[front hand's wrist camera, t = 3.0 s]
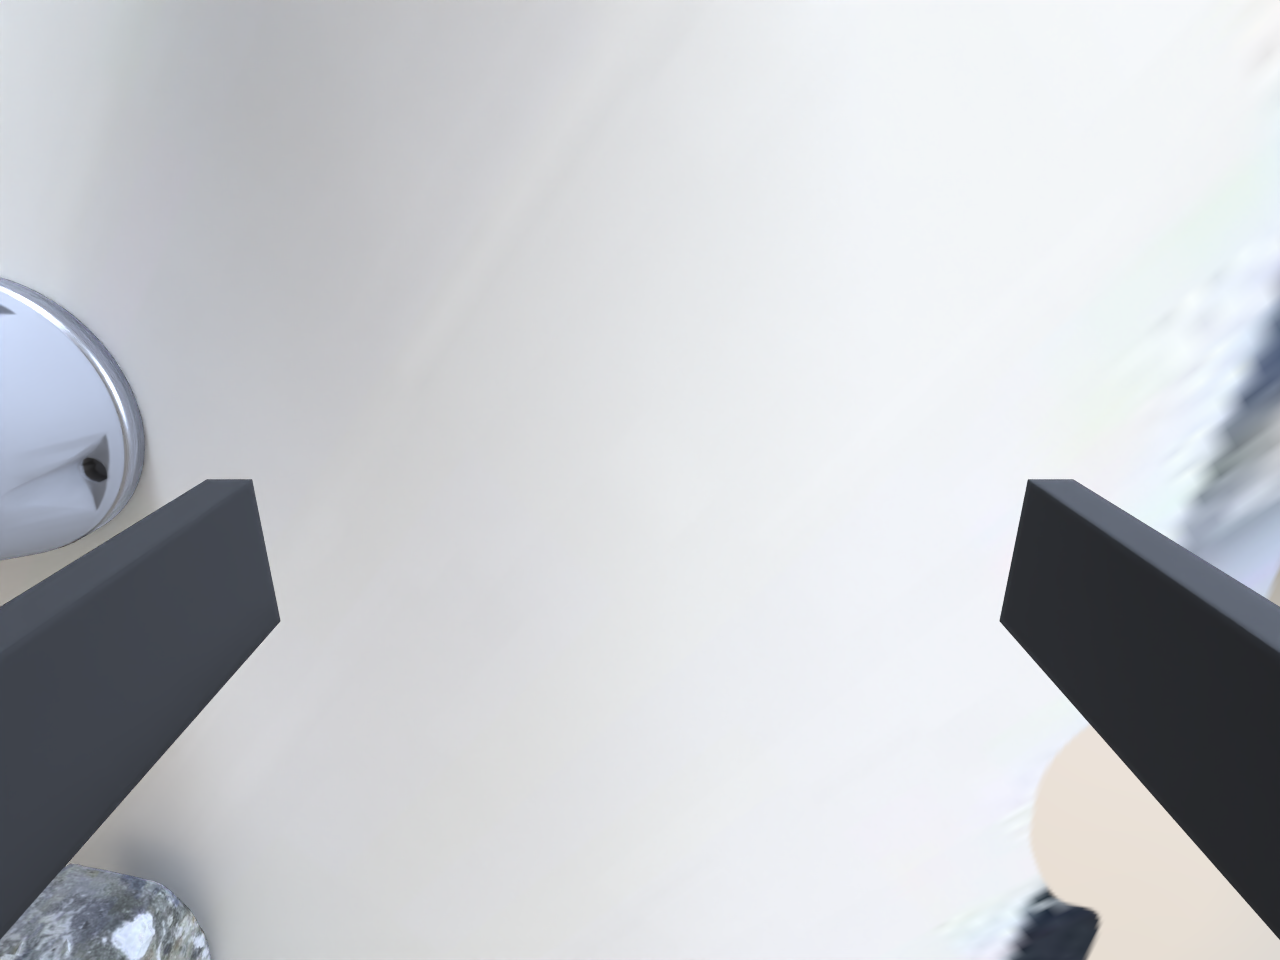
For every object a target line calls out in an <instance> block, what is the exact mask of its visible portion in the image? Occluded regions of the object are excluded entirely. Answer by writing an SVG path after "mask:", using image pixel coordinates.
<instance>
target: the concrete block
mask: <svg viewBox="0 0 1280 960" xmlns="http://www.w3.org/2000/svg"><path fill="white" fill-rule="evenodd" d="M0 960H211V956H210V952H209V947H208V943H207V940H206V937H205V935H204V932H203V931H202V929H201V928H200V926H199V925H198V923H197V920H196V918H195V917H194V915H193V914H192V912H191V911H190V909H189V908H188V907H187V906H186V905H185V904H184V903H183V902H182V901H181V900H180V899H178V898H177V897H176V896H175V895H174V894H173V893H172V892H171V891H170V890H169V889H167V888H166V887H165V886H163V885H162V884H160V883H157V882H155V881H151V880H146V879H142V878H137V877H133V876H129V875H124V874H120V873H115V872H111V871H107V870H101V869H95V868H90V867H84V866H81V865H78V864H69V865H68V866H66V867H64V868H63V869H62V870H61V871H60V872H59V874H58V875H57V876H56V877H55V878H54V879H53V880H52V881H51V883H50V884H49V885H48V886H47V887H46V888H45V889H44V891H43V892H42V893H41V894H40V895H39V896H38V897H37V899H36V900H35V901H34V902H33V903H32V904H31V905H30V906H29V908H28V909H27V910H26V911H25V912H24V913H23V914H22V916H21V917H20V918H19V919H18V920H17V921H16V922H15V924H14V925H13V926H12V927H11V928H10V929H9V930H8V932H7V933H6V934H5V935H4V936H3V937H2V938H1V939H0Z"/></svg>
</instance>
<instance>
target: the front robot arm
mask: <svg viewBox="0 0 1280 960" xmlns="http://www.w3.org/2000/svg"><path fill="white" fill-rule="evenodd" d="M144 450H145V448H144V432H143V424H142V420H141V416H140V411H139V408H138V405H137V402H136V399H135V397H134V394H133V392H132V390H131V388H130V385H129V383H128V381H127V379H126V378H125V376H124V374H123V372H122V370H121V369H120V367H119V366H118V364H117V363H116V361H115V360H114V358H113V357H112V356H111V354H110V353H109V352H108V350H107V349H106V348H105V347H104V345H103V344H102V343H101V342H100V341H99V340H98V339H97V338H96V336H95V335H94V334H93V333H92V332H91V331H90V330H89V329H88V328H87V327H85V326H84V325H83V324H82V323H81V322H80V321H79V320H78V319H76V318H75V317H74V316H73V315H72V314H70V313H69V312H68V311H66V310H65V309H64V308H62V307H61V306H59V305H58V304H56V303H55V302H53V301H52V300H50V299H48V298H47V297H45V296H43V295H41V294H40V293H38V292H36V291H34V290H32V289H30V288H27V287H25V286H23V285H20V284H18V283H15V282H13V281H10V280H7V279H4V278H0V560H5V559H11V558H17V557H22V556H28V555H34V554H39V553H43V552H47V551H50V550H54V549H57V548H61V547H64V546H66V545H69V544H71V543H74V542H75V541H77V540H79V539H81V538H83V537H84V536H86V535H88V534H90V533H91V532H93V531H95V530H96V529H98V528H100V527H102V526H103V525H105V524H106V523H107V522H109V521H110V520H112V519H113V518H114V517H115V516H116V515H117V514H118V513H119V512H120V511H121V510H122V509H123V508H124V506H125V505H126V504H127V503H128V501H129V499H130V498H131V496H132V495H133V493H134V491H135V489H136V486H137V484H138V482H139V478H140V475H141V472H142V467H143V462H144ZM279 622H280V616H279V611H278V607H277V602H276V597H275V592H274V587H273V582H272V577H271V572H270V567H269V562H268V557H267V552H266V547H265V542H264V537H263V532H262V527H261V522H260V517H259V512H258V507H257V502H256V497H255V492H254V487H253V482H252V479H207V480H205V481H203V482H202V483H200V484H199V485H197V486H195V487H194V488H192V489H191V490H189V491H187V492H186V493H184V494H182V495H181V496H179V497H178V498H176V499H174V500H173V501H171V502H169V503H168V504H166V505H165V506H163V507H161V508H160V509H158V510H156V511H155V512H153V513H152V514H150V515H148V516H147V517H145V518H144V519H142V520H140V521H139V522H137V523H135V524H134V525H132V526H131V527H129V528H127V529H126V530H124V531H122V532H121V533H119V534H118V535H116V536H114V537H113V538H111V539H109V540H108V541H106V542H105V543H103V544H101V545H100V546H98V547H97V548H95V549H93V550H92V551H90V552H88V553H87V554H85V555H84V556H82V557H80V558H79V559H77V560H75V561H74V562H72V563H71V564H69V565H67V566H66V567H64V568H62V569H61V570H59V571H58V572H56V573H54V574H53V575H51V576H50V577H48V578H46V579H45V580H43V581H41V582H40V583H38V584H37V585H35V586H33V587H32V588H30V589H28V590H27V591H25V592H24V593H22V594H20V595H19V596H17V597H15V598H14V599H12V600H11V601H9V602H7V603H6V604H4V605H3V606H1V607H0V939H1V938H2V937H3V936H4V935H5V934H6V933H7V932H8V930H9V929H10V928H11V927H12V926H13V925H14V924H15V922H16V921H17V920H18V919H19V918H20V917H21V916H22V914H23V913H24V912H25V911H26V910H27V909H28V908H29V906H30V905H31V904H32V903H33V902H34V901H35V900H36V899H37V897H38V896H39V895H40V894H41V893H42V892H43V891H44V889H45V888H46V887H47V886H48V885H49V884H50V883H51V881H52V880H53V879H54V878H55V877H56V876H57V875H58V874H59V872H60V871H61V870H62V869H63V868H64V867H65V866H66V864H67V863H68V862H69V861H70V860H71V859H72V858H73V856H74V855H75V854H76V853H77V852H78V851H79V850H80V848H81V847H82V846H83V845H84V844H85V843H86V842H87V841H88V839H89V838H90V837H91V836H92V835H93V834H94V833H95V831H96V830H97V829H98V828H99V827H100V826H101V825H102V823H103V822H104V821H105V820H106V819H107V818H108V817H109V815H110V814H111V813H112V812H113V811H114V810H115V809H116V808H117V806H118V805H119V804H120V803H121V802H122V801H123V800H124V798H125V797H126V796H127V795H128V794H129V793H130V792H131V790H132V789H133V788H134V787H135V786H136V785H137V784H138V783H139V781H140V780H141V779H142V778H143V777H144V776H145V775H146V773H147V772H148V771H149V770H150V769H151V768H152V767H153V765H154V764H155V763H156V762H157V761H158V760H159V759H160V757H161V756H162V755H163V754H164V753H165V752H166V751H167V750H168V748H169V747H170V746H171V745H172V744H173V743H174V742H175V740H176V739H177V738H178V737H179V736H180V735H181V734H182V732H183V731H184V730H185V729H186V728H187V727H188V726H189V725H190V723H191V722H192V721H193V720H194V719H195V718H196V717H197V715H198V714H199V713H200V712H201V711H202V710H203V709H204V707H205V706H206V705H207V704H208V703H209V702H210V701H211V699H212V698H213V697H214V696H215V695H216V694H217V693H218V692H219V690H220V689H221V688H222V687H223V686H224V685H225V684H226V682H227V681H228V680H229V679H230V678H231V677H232V676H233V674H234V673H235V672H236V671H237V670H238V669H239V668H240V667H241V665H242V664H243V663H244V662H245V661H246V660H247V659H248V657H249V656H250V655H251V654H252V653H253V652H254V651H255V649H256V648H257V647H258V646H259V645H260V644H261V643H262V641H263V640H264V639H265V638H266V637H267V636H268V635H269V634H270V632H271V631H272V630H273V629H274V628H275V627H276V626H277V624H278V623H279ZM1000 622H1001V623H1002V624H1003V626H1004V627H1005V628H1006V629H1007V630H1008V631H1009V632H1010V634H1011V635H1012V636H1013V637H1014V638H1015V639H1016V640H1017V641H1018V643H1019V644H1020V645H1021V646H1022V647H1023V648H1024V649H1025V651H1026V652H1027V653H1028V654H1029V655H1030V656H1031V657H1032V659H1033V660H1034V661H1035V662H1036V663H1037V664H1038V665H1039V667H1040V668H1041V669H1042V670H1043V671H1044V672H1045V673H1046V674H1047V676H1048V677H1049V678H1050V679H1051V680H1052V681H1053V682H1054V684H1055V685H1056V686H1057V687H1058V688H1059V689H1060V690H1061V692H1062V693H1063V694H1064V695H1065V696H1066V697H1067V698H1068V699H1069V701H1070V702H1071V703H1072V704H1073V705H1074V706H1075V707H1076V709H1077V710H1078V711H1079V712H1080V713H1081V714H1082V715H1083V717H1084V718H1085V719H1086V720H1087V721H1088V722H1089V723H1090V725H1091V726H1092V727H1093V728H1094V729H1095V730H1096V731H1097V732H1098V734H1099V735H1100V736H1101V737H1102V738H1103V739H1104V740H1105V742H1106V743H1107V744H1108V745H1109V746H1110V747H1111V748H1112V750H1113V751H1114V752H1115V753H1116V754H1117V755H1118V756H1119V757H1120V759H1121V760H1122V761H1123V762H1124V763H1125V764H1126V765H1127V767H1128V768H1129V769H1130V770H1131V771H1132V772H1133V773H1134V775H1135V776H1136V777H1137V778H1138V779H1139V780H1140V781H1141V783H1142V784H1143V785H1144V786H1145V787H1146V788H1147V789H1148V790H1149V792H1150V793H1151V794H1152V795H1153V796H1154V797H1155V798H1156V800H1157V801H1158V802H1159V803H1160V804H1161V805H1162V806H1163V808H1164V809H1165V810H1166V811H1167V812H1168V813H1169V814H1170V815H1171V817H1172V818H1173V819H1174V820H1175V821H1176V822H1177V823H1178V825H1179V826H1180V827H1181V828H1182V829H1183V830H1184V831H1185V833H1186V834H1187V835H1188V836H1189V837H1190V838H1191V839H1192V841H1193V842H1194V843H1195V844H1196V845H1197V846H1198V847H1199V848H1200V850H1201V851H1202V852H1203V853H1204V854H1205V855H1206V856H1207V858H1208V859H1209V860H1210V861H1211V862H1212V863H1213V864H1214V866H1215V867H1216V868H1217V869H1218V870H1219V871H1220V872H1221V873H1222V875H1223V876H1224V877H1225V878H1226V879H1227V880H1228V881H1229V883H1230V884H1231V885H1232V886H1233V887H1234V888H1235V889H1236V890H1237V892H1238V893H1239V894H1240V895H1241V896H1242V897H1243V899H1244V900H1245V901H1246V902H1247V903H1248V904H1249V905H1250V906H1251V908H1252V909H1253V910H1254V911H1255V912H1256V913H1257V914H1258V916H1259V917H1260V918H1261V919H1262V920H1263V921H1264V922H1265V923H1266V925H1267V926H1268V927H1269V928H1270V929H1271V930H1272V931H1273V933H1274V934H1275V935H1276V936H1277V937H1278V938H1279V939H1280V607H1279V606H1277V605H1276V604H1274V603H1273V602H1271V601H1269V600H1268V599H1266V598H1265V597H1263V596H1261V595H1260V594H1258V593H1256V592H1255V591H1253V590H1252V589H1250V588H1248V587H1247V586H1245V585H1243V584H1242V583H1240V582H1239V581H1237V580H1235V579H1234V578H1232V577H1230V576H1229V575H1227V574H1226V573H1224V572H1222V571H1221V570H1219V569H1218V568H1216V567H1214V566H1213V565H1211V564H1209V563H1208V562H1206V561H1205V560H1203V559H1201V558H1200V557H1198V556H1196V555H1195V554H1193V553H1192V552H1190V551H1188V550H1187V549H1185V548H1183V547H1182V546H1180V545H1179V544H1177V543H1175V542H1174V541H1172V540H1171V539H1169V538H1167V537H1166V536H1164V535H1162V534H1161V533H1159V532H1158V531H1156V530H1154V529H1153V528H1151V527H1149V526H1148V525H1146V524H1145V523H1143V522H1141V521H1140V520H1138V519H1136V518H1135V517H1133V516H1132V515H1130V514H1128V513H1127V512H1125V511H1124V510H1122V509H1120V508H1119V507H1117V506H1115V505H1114V504H1112V503H1111V502H1109V501H1107V500H1106V499H1104V498H1102V497H1101V496H1099V495H1098V494H1096V493H1094V492H1093V491H1091V490H1089V489H1088V488H1086V487H1085V486H1083V485H1081V484H1080V483H1078V482H1077V481H1075V480H1073V479H1028V482H1027V487H1026V492H1025V497H1024V502H1023V507H1022V512H1021V517H1020V522H1019V527H1018V532H1017V537H1016V542H1015V547H1014V552H1013V557H1012V562H1011V567H1010V572H1009V577H1008V582H1007V587H1006V592H1005V597H1004V602H1003V607H1002V611H1001V616H1000Z"/></svg>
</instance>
